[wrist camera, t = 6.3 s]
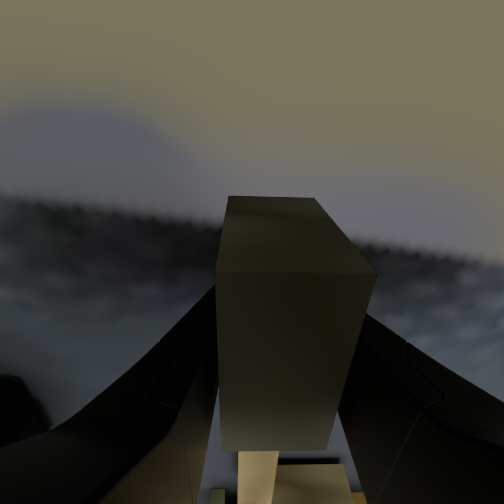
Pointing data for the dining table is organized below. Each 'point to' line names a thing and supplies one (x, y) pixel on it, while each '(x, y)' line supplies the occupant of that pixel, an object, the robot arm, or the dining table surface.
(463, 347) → the dining table surface
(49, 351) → the dining table surface
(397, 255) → the dining table surface
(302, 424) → the crook tool
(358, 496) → the ochre cube
